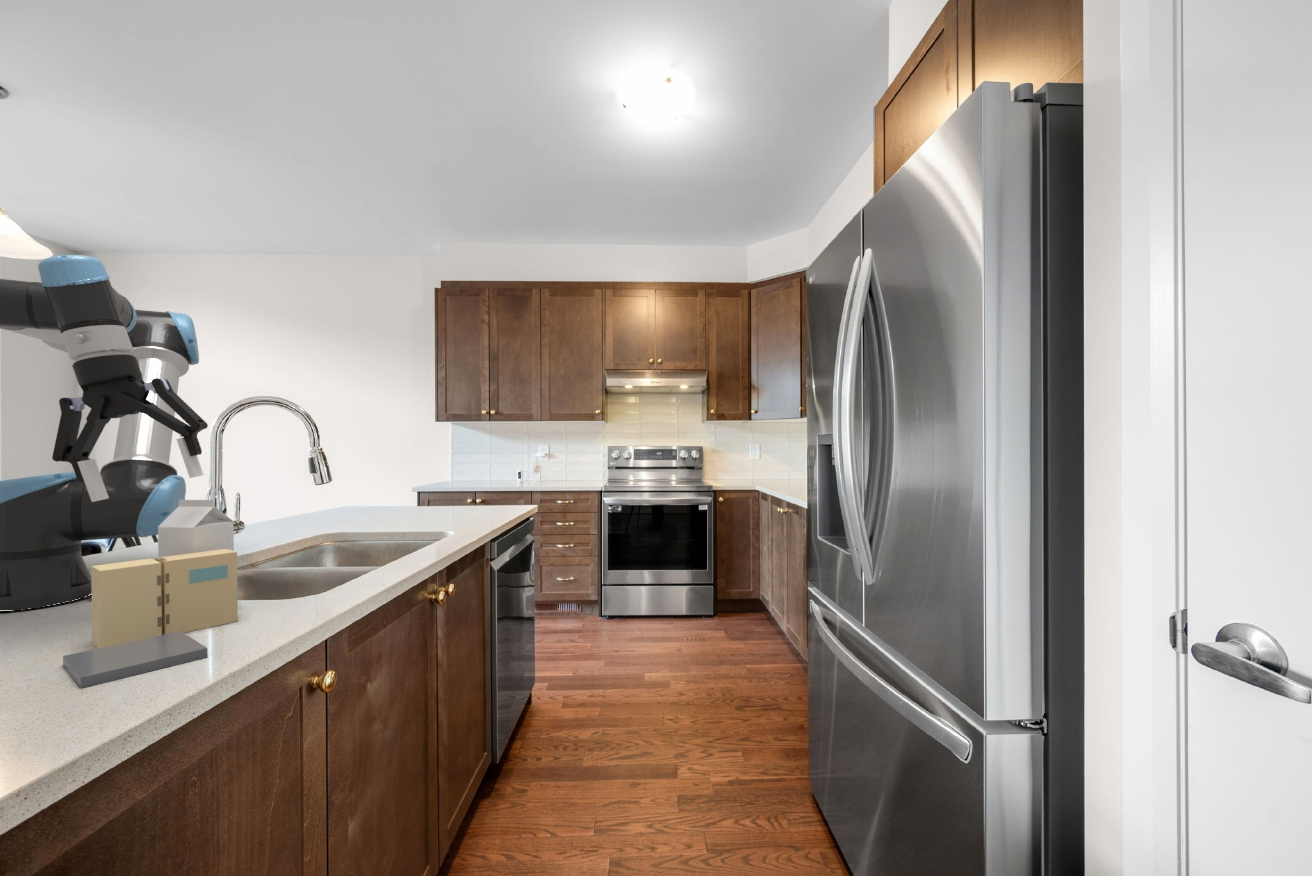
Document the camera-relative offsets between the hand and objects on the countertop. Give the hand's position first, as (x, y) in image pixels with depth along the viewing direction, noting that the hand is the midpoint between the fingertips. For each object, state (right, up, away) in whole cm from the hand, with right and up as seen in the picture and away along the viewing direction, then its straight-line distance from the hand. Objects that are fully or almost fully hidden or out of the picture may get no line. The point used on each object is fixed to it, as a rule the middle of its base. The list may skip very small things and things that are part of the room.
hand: (149, 488), depth 93 cm
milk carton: (+5, -21, +4) cm, 22 cm away
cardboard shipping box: (+10, -21, -3) cm, 23 cm away
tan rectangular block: (+5, -21, -9) cm, 24 cm away
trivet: (+14, -21, -18) cm, 30 cm away
